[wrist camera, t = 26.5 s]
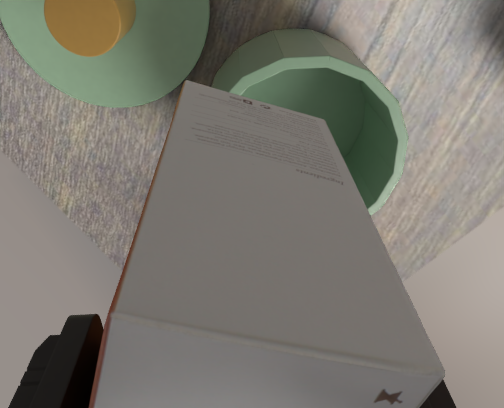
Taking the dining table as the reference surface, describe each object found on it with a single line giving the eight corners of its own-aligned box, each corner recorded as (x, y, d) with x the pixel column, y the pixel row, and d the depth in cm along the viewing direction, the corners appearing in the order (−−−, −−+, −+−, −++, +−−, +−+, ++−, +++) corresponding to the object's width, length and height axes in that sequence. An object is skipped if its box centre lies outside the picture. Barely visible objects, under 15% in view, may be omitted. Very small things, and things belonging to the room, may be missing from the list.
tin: (198, 32, 32) (189, 62, 25) (380, 24, 32) (423, 50, 25) (213, 190, 39) (209, 248, 32) (362, 182, 40) (392, 239, 32)
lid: (-35, -118, 27) (-99, -130, 22) (199, -129, 27) (191, -143, 22) (35, 107, 35) (0, 139, 29) (218, 97, 35) (216, 127, 30)
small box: (183, 75, 18) (103, 311, 7) (328, 117, 19) (462, 376, 8) (147, 233, 22) (60, 544, 11) (269, 259, 23) (304, 564, 12)
